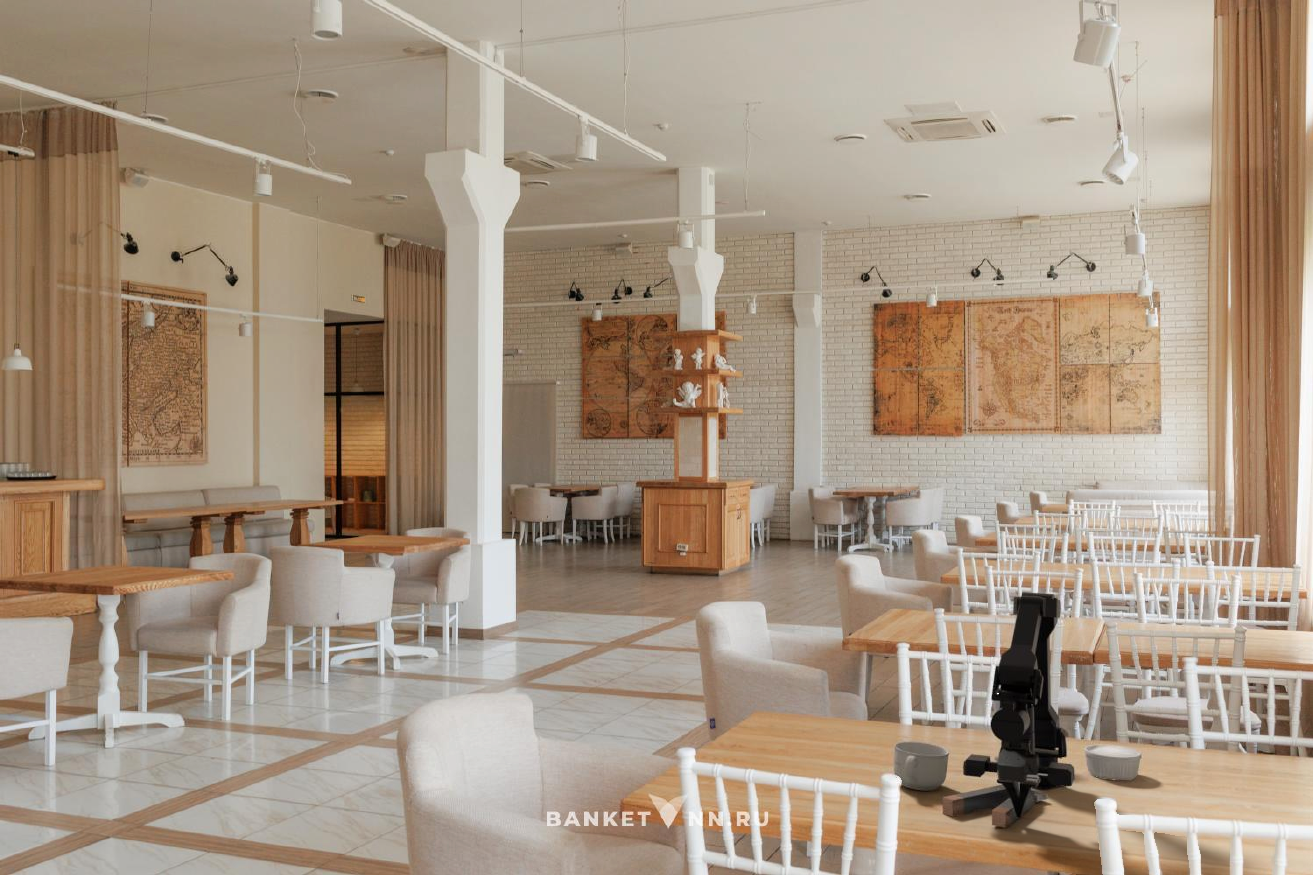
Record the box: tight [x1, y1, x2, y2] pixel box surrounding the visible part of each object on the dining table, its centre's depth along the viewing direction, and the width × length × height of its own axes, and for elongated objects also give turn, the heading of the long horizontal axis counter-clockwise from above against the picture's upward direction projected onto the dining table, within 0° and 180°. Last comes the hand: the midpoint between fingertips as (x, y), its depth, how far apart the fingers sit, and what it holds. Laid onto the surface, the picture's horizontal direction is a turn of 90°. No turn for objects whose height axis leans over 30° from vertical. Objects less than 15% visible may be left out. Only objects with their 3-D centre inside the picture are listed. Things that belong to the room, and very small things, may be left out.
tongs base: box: [942, 782, 1048, 818], centre depth 218 cm, size 23×5×4 cm, turn 123°
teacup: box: [893, 741, 950, 792], centre depth 230 cm, size 14×11×8 cm
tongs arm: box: [991, 790, 1035, 829], centre depth 213 cm, size 17×2×3 cm, turn 145°
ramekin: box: [1083, 744, 1142, 781], centre depth 242 cm, size 11×11×5 cm
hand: (1019, 817), depth 208 cm, fingers closed
